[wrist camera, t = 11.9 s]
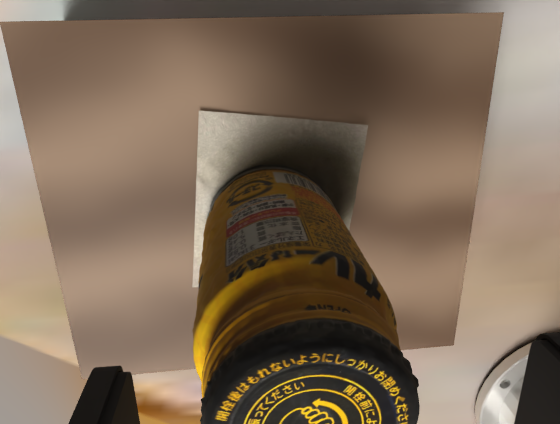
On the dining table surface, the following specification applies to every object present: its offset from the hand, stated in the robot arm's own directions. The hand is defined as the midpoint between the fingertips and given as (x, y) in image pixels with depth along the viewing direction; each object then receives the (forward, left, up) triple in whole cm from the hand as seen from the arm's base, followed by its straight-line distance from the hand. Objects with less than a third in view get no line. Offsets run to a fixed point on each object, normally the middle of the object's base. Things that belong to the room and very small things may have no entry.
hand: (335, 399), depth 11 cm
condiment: (0, 0, -12) cm, 12 cm away
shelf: (0, 0, -19) cm, 19 cm away
